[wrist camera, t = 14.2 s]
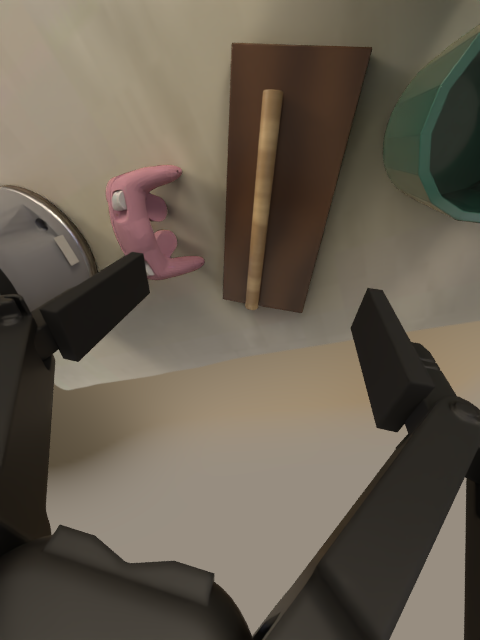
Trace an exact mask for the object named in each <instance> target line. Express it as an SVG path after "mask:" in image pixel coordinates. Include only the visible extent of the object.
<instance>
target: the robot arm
mask: <svg viewBox="0 0 480 640" xmlns="http://www.w3.org/2000/svg"><path fill="white" fill-rule="evenodd" d="M149 293H150V290H149V284H148V278H147V272H146V266H145V260H144V254H143V253H137V252H130V253H129V254H127V255H126V256H124V257H122V258H121V259H119V260H118V261H116V262H114V263H113V264H111V265H109V266H108V267H106V268H105V269H103V270H101V271H100V272H98V273H97V268H96V264H95V260H94V257H93V255H92V253H91V250H90V248H89V246H88V244H87V243H86V241H85V239H84V238H83V236H82V235H81V233H80V232H79V231H78V229H77V228H76V227H75V225H74V224H73V223H72V222H71V221H70V220H69V219H68V218H67V217H66V216H65V214H64V213H62V212H61V211H60V210H59V209H58V208H57V207H56V206H54V205H53V204H52V203H50V202H49V201H48V200H46V199H45V198H43V197H41V196H40V195H38V194H36V193H34V192H32V191H30V190H27V189H25V188H21V187H17V186H11V185H4V186H0V640H389V639H390V637H391V634H392V632H393V630H394V628H395V626H396V624H397V622H398V619H399V617H400V615H401V613H402V611H403V609H404V607H405V604H406V602H407V600H408V598H409V596H410V594H411V591H412V589H413V587H414V585H415V583H416V581H417V578H418V577H419V574H420V572H421V570H422V568H423V566H424V564H425V561H426V559H427V557H428V555H429V553H430V551H431V549H432V546H433V544H434V542H435V540H436V538H437V535H438V533H439V531H440V529H441V527H442V525H443V523H444V520H445V518H446V516H447V514H448V512H449V510H450V508H451V506H452V503H453V501H454V499H455V496H456V495H457V493H458V490H459V488H460V486H461V484H462V482H463V480H464V477H466V478H467V481H466V485H467V486H466V549H465V550H466V553H465V617H464V620H465V621H464V640H480V410H479V409H478V408H477V407H476V406H474V405H473V404H471V403H470V402H469V401H467V400H464V399H462V398H460V397H457V396H456V394H455V392H454V391H453V389H452V388H451V386H450V384H449V383H448V381H447V379H446V378H445V376H444V374H443V373H442V371H440V368H439V367H438V365H437V363H435V360H434V358H433V357H432V355H431V353H430V352H429V351H428V350H427V349H425V348H424V347H423V346H422V345H421V344H419V343H413V342H411V341H410V339H409V338H408V336H407V334H406V332H405V330H404V328H403V327H402V325H401V323H400V321H399V319H398V318H397V316H396V314H395V312H394V310H393V308H392V307H391V305H390V303H389V301H388V299H387V298H386V296H385V294H384V292H383V290H378V289H371V288H367V291H366V293H365V295H364V298H363V300H362V302H361V305H360V307H359V309H358V312H357V314H356V317H355V319H354V321H353V324H352V326H351V331H352V335H353V339H354V342H355V346H356V350H357V354H358V358H359V362H360V366H361V369H362V373H363V377H364V381H365V385H366V389H367V392H368V396H369V400H370V404H371V408H372V412H373V415H374V419H375V423H376V427H377V428H380V429H384V430H389V431H394V432H398V431H399V430H400V429H401V427H402V426H403V425H404V424H405V426H406V428H407V431H408V435H407V436H406V437H405V438H404V439H403V440H402V441H401V442H400V444H399V445H398V446H397V447H396V450H395V451H394V452H393V454H392V455H391V456H390V458H389V459H388V460H387V462H386V463H385V464H384V466H383V467H382V468H381V470H380V471H379V472H378V473H377V475H376V476H375V477H374V479H373V480H372V481H371V483H370V484H369V485H368V487H367V488H366V489H365V491H364V492H363V493H362V495H361V496H360V497H359V498H358V500H357V501H356V503H355V504H354V505H353V506H352V508H351V509H350V510H349V512H348V513H347V515H346V516H345V517H344V518H343V520H342V521H341V522H340V523H339V525H338V526H337V528H336V529H335V530H334V531H333V533H332V534H331V535H330V537H329V538H328V539H327V541H326V542H325V543H324V545H323V546H322V547H321V549H320V550H319V551H318V553H317V554H316V555H315V557H314V558H313V559H312V560H311V562H310V563H309V564H308V566H307V567H306V569H305V570H304V571H303V572H302V574H301V575H300V576H299V578H298V579H297V580H296V581H295V583H294V584H293V585H292V587H291V588H290V589H289V590H288V591H287V593H286V594H285V595H284V596H283V598H282V599H281V600H280V601H279V602H278V604H277V605H276V606H275V608H274V609H273V610H272V611H271V612H270V614H269V615H268V617H267V618H266V619H265V620H264V622H263V623H262V624H261V626H260V627H259V628H258V630H257V631H256V632H255V634H254V635H253V636H252V635H251V633H250V630H249V628H248V625H247V623H246V621H245V619H244V617H243V616H242V614H241V612H240V610H239V608H238V607H237V605H236V604H235V603H234V601H233V600H232V598H231V597H230V596H229V595H228V594H227V593H226V592H225V591H224V589H222V588H221V587H220V586H219V585H218V584H216V583H215V582H214V573H211V572H208V571H205V570H201V569H198V568H195V567H192V566H189V565H186V564H183V563H179V562H176V561H162V562H145V563H127V562H125V561H123V559H121V558H120V557H119V556H118V555H117V554H116V553H114V552H113V551H112V550H111V549H110V548H109V547H108V546H106V545H105V544H104V543H103V542H102V541H101V540H99V539H98V538H97V537H96V536H94V535H91V534H88V533H85V532H82V531H78V530H75V529H72V528H69V527H66V526H62V525H59V526H58V528H57V530H56V531H55V533H54V534H53V535H51V528H50V523H49V520H48V517H47V513H46V493H47V479H48V478H47V477H48V462H49V448H50V433H51V418H52V402H53V387H54V372H55V358H54V356H53V353H54V352H56V351H57V350H58V349H59V351H60V353H61V355H62V357H63V359H68V360H72V361H77V362H79V361H80V360H81V359H82V358H83V357H84V356H85V355H86V354H87V353H88V352H89V351H90V350H91V349H92V348H93V347H94V346H95V345H96V344H97V343H98V342H99V341H100V340H101V339H102V338H104V337H105V336H106V335H107V334H108V333H109V332H110V331H111V330H112V329H113V328H114V327H115V326H116V325H117V324H118V323H119V322H120V321H121V320H122V319H123V318H124V317H125V316H126V315H127V314H128V313H129V312H131V311H132V310H133V309H134V308H135V307H136V306H137V305H138V304H139V303H140V302H141V301H142V300H143V299H144V298H145V297H146V296H147V295H148V294H149Z"/></svg>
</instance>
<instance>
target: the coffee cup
mask: <svg viewBox="0 0 480 640" xmlns="http://www.w3.org/2000/svg"><path fill="white" fill-rule="evenodd" d="M383 161H384V166H385V170H386V172H387V175H388V177H389V179H390V180H391V182H392V183H393V184H394V186H395V187H396V188H397V189H399V190H400V191H401V192H403V193H404V194H406V195H408V196H409V197H411V198H412V199H414V200H416V201H418V202H420V203H422V204H424V205H426V206H428V207H430V208H433V209H435V210H437V211H439V212H441V213H443V214H445V215H447V216H449V217H451V218H453V219H455V220H458V221H466V222H475V223H480V24H479V25H478V26H476V27H475V28H473V29H472V30H471V31H469V32H468V33H466V34H465V35H464V36H462V37H461V38H459V39H458V40H457V41H455V42H454V43H452V44H451V45H450V46H448V47H447V48H446V49H445V50H444V51H443V52H442V53H440V54H439V55H438V56H437V57H435V58H434V59H433V60H432V61H430V62H429V63H428V64H427V65H426V66H425V67H424V68H423V69H422V70H421V71H420V72H419V73H418V74H417V75H416V76H415V78H414V79H413V80H412V81H411V82H410V84H409V85H408V86H407V88H406V89H405V90H404V92H403V93H402V95H401V97H400V98H399V100H398V102H397V103H396V105H395V107H394V109H393V111H392V114H391V116H390V119H389V121H388V124H387V128H386V131H385V136H384V142H383Z"/></svg>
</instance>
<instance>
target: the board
mask: <svg viewBox="0 0 480 640" xmlns="http://www.w3.org/2000/svg"><path fill="white" fill-rule="evenodd" d="M371 52H372V47H346V46H315V45H285V44H254V43H232V50H231V79H230V107H229V136H228V165H227V194H226V223H225V252H224V280H223V299H225V300H230V301H236V302H242V303H246V291H247V279H248V267H249V254H250V242H251V230H252V218H253V206H254V194H255V181H256V169H257V157H258V145H259V133H260V121H261V108H262V96H263V91H264V90H268V89H273V90H280V91H282V92H283V100H282V109H281V117H280V125H279V134H278V142H277V151H276V159H275V168H274V176H273V185H272V193H271V201H270V210H269V218H268V227H267V235H266V244H265V252H264V261H263V269H262V277H261V286H260V294H259V303H258V305H259V306H264V307H270V308H275V309H281V310H287V311H292V312H298V313H302V311H303V308H304V304H305V300H306V296H307V293H308V289H309V285H310V281H311V278H312V274H313V270H314V266H315V262H316V259H317V255H318V251H319V247H320V244H321V240H322V236H323V232H324V229H325V225H326V221H327V217H328V213H329V210H330V206H331V202H332V198H333V195H334V191H335V187H336V183H337V180H338V176H339V172H340V168H341V165H342V161H343V157H344V153H345V149H346V146H347V142H348V138H349V134H350V131H351V127H352V123H353V119H354V116H355V112H356V108H357V104H358V100H359V97H360V93H361V89H362V85H363V82H364V78H365V74H366V70H367V67H368V63H369V59H370V55H371Z"/></svg>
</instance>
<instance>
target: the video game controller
mask: <svg viewBox="0 0 480 640" xmlns="http://www.w3.org/2000/svg"><path fill="white" fill-rule="evenodd" d="M181 175H182V169H181V168H179V167H177V166H173V165H159V166H153V167H145V168H141V169H137V170H134V171H131V172H128V173H124V174H122V175H119V176H116V177H114V178H112V179H111V180H109V182H108V184H107V186H106V199H107V202H108V204H109V214H110V219H111V224H112V227H113V230H114V233H115V236H116V238H117V241H118V243H119V245H120V247H121V249H122V251H123V252H124V254H125V256H126V255H127V254H129V253H130V252H137V253H143V254H144V260H145V266H146V272H147V278H148V279H152V280H162V279H167V278H171V277H176V276H179V275H182V274H186V273H189V272H192V271H195V270H197V269H199V268H200V267H202V266H203V264H204V263H205V260H204V259H203V258H202V257H198V256H184V257H176V258H170V256H171V254H172V253H173V251H174V250H175V249H176V247H177V239H176V236H175V235H174V233H173V232H171V231H169V230H158V231H157V232H155V233H154V232H153V229H152V226H151V224H150V221H156V222H158V221H163V220H164V219H165V218H166V216H167V206H166V203H165V201H164V200H163V199H162V198H160V197H158V196H155V195H152V194H150V193H149V192H150V191H151V190H153V189H155V188H157V187H159V186H162V185H165V184H168V183H170V182H173V181H174V180H176V179H178V178H179V177H180V176H181Z"/></svg>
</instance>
